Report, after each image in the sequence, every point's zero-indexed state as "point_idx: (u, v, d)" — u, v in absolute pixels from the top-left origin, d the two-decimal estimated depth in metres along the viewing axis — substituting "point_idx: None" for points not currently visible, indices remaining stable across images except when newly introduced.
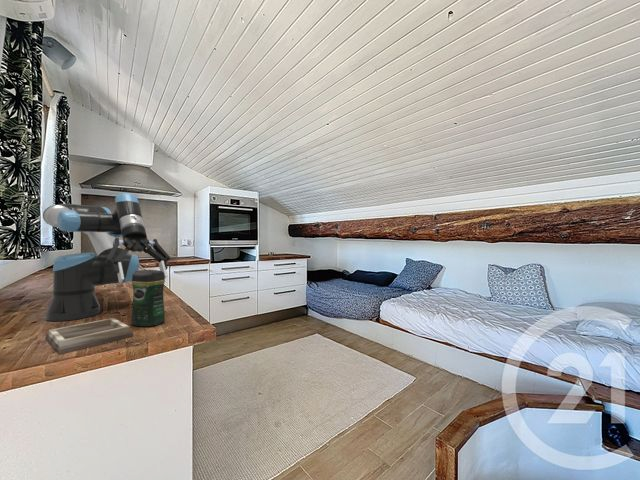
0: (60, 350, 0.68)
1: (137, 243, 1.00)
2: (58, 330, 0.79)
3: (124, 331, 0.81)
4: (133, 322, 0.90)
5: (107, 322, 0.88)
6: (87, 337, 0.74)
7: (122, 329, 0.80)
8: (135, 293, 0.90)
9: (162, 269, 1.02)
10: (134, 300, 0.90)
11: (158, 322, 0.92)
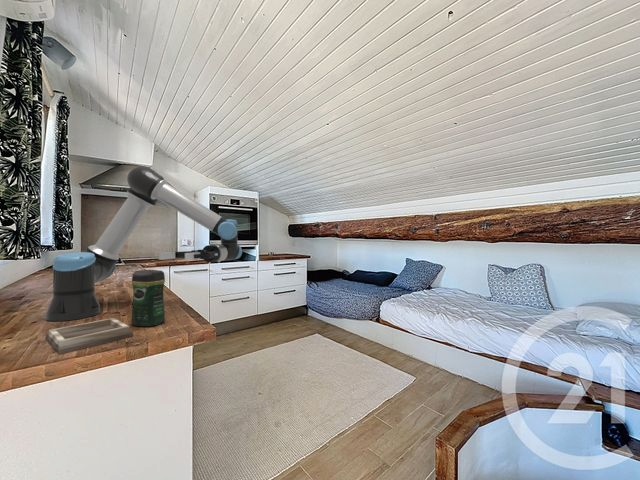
0: (60, 350, 0.68)
1: None
2: (58, 330, 0.79)
3: (124, 331, 0.81)
4: (133, 322, 0.90)
5: (107, 322, 0.88)
6: (87, 337, 0.74)
7: (122, 329, 0.80)
8: (135, 293, 0.90)
9: (167, 257, 1.07)
10: (134, 300, 0.90)
11: (158, 322, 0.92)
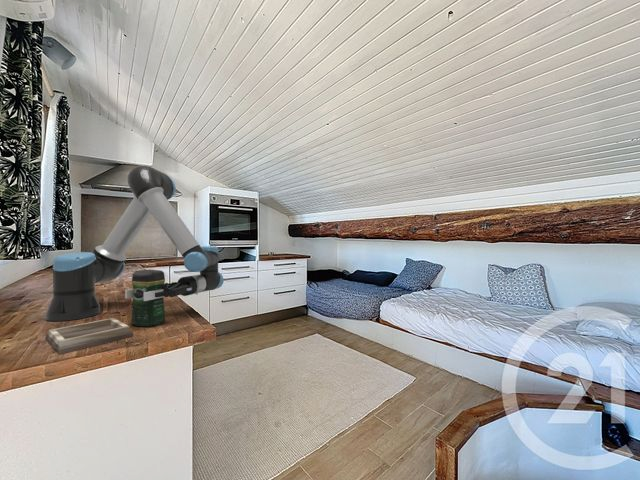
0: (60, 350, 0.68)
1: None
2: (58, 330, 0.79)
3: (124, 331, 0.81)
4: (133, 322, 0.90)
5: (107, 322, 0.88)
6: (87, 337, 0.74)
7: (122, 329, 0.80)
8: (135, 293, 0.90)
9: None
10: (134, 300, 0.90)
11: (158, 322, 0.92)
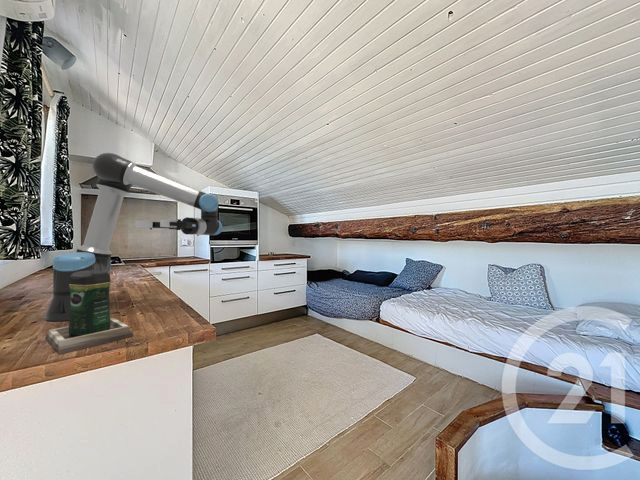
0: (60, 350, 0.68)
1: (180, 228, 1.16)
2: (58, 330, 0.79)
3: (124, 331, 0.81)
4: (70, 332, 0.77)
5: None
6: (87, 337, 0.74)
7: (122, 329, 0.80)
8: (72, 298, 0.77)
9: (144, 225, 1.08)
10: (71, 306, 0.77)
11: None
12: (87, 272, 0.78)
